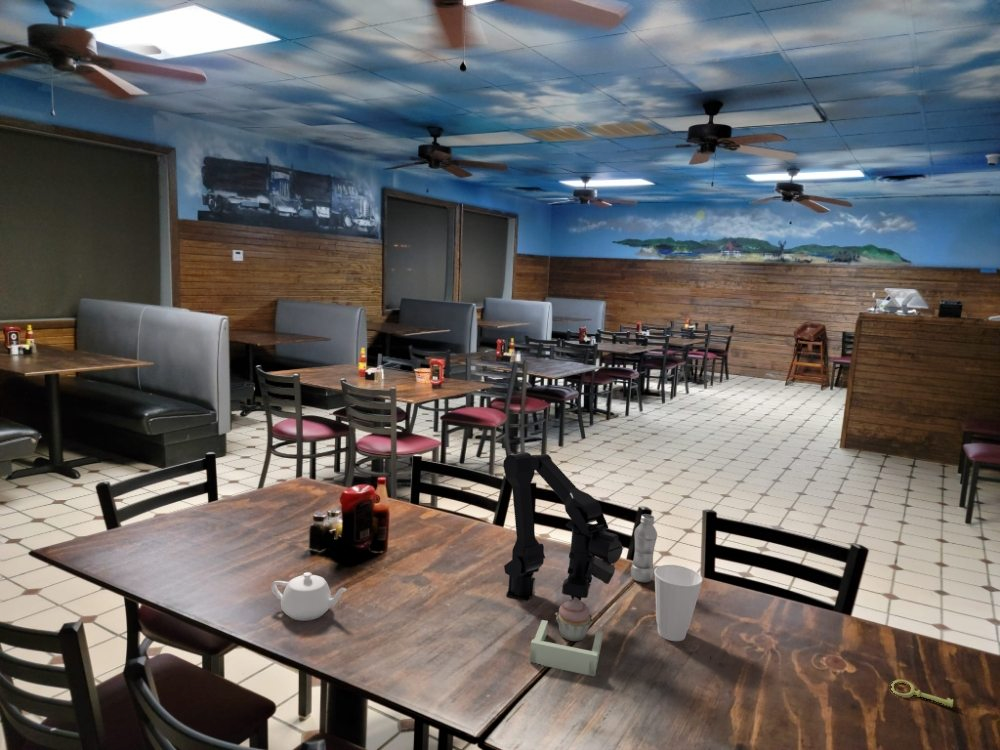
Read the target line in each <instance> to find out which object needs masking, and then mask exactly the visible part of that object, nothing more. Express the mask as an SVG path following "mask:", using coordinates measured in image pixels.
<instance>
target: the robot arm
mask: <svg viewBox="0 0 1000 750" xmlns="http://www.w3.org/2000/svg"><path fill="white" fill-rule="evenodd" d="M503 470H504V474H505V475H504V476H505V479H506V480H507V481H508V483H509V484H510V486H511V488H512V500H513V511H514V521H515V523H514V524H515V533H516V534H515V535H516V541H515V543H514V546H513V547H512V552H511V554H512V555H511V557H512V558H511V560H509V561H507V563H505V564H504V565H503V569H504V574H506V575H508V576H509V577H508V588H507V592H506V597H509V598H515V599H519V600H526V601H530V599H531V597H532V596H533V595H534V593H535V587H536V577H534V575H535V574H534V573H538V572H539V571H540V568H541V567H542V566H543V565H544V559H546V556H545V553H544V552H545V551H544V550H545V549H544V548H545V547H544V544H543V543H540V542H539V541H538V540H537V538H536V536H535V533H536V532H535V524H534V513H533V503H532V502H533V501H532V491H531V484H532V481H533V480H534V477H535V472H536V473H537V474H538V475H539V476H540V478H542V479H543V480H544V482H545V483H546V484H548V486H549V487H550V488H551V490H553V492H554V493H555V494H556V495H557V496H558V497H559V498H560V500H561V501H562V502H563V505H564V510H565V512H566V514H567V515H568V518H569V519H570V521H568V522H567V523H565V527H566V528H568V529H571V538H570V539H571V540H570V541H571V542H570V550H569V553H568V559H569V562H568V563H569V564H568V568H567V574H568V576H567V577H566V578H564V581H563V583H562V588H561V594H562V595H566V596H570V597H571V600H573V599H574V597H576V598H578V599H579V600H580V601H582V599H586V598H588V596H589V592H590V589H591V585H592V584H591V583H592V581H593V577H594V578H596V579H598V580H600V581H601V582H603V583H604V584H605V585H609V584H610V583H611V581H612V578H613V577H614V574H615V570H616V567H615V563H616V562H618V561H619V560H620V558H621V556H622V555H623V550H624V549H623V548H624V547H623V544H622V542H621V541H620V540H619V535H618V534H616V533H612V532H609V531H607V530H608V529H609V525H608V523H607V520H606V518H605V516H604V513H603V511H602V506H601V503H600V502H599V501H598V500H597V499H596V498H595V497H593V496H592V495H591V494H589V493H587V492H585V491H583V490H581V489H579V488H578V487H576V485H575V484H574V483H573V482H572V481H571V480H570V479H569V478H568V476H567V475H566V474H565V473H564V472H563V471H562V470H561V469H560V468H559V467H558V465H556V463H555V462H554V461H553V460H552V457H551V455H549V454H547V453H542V454H531V453H530V452H528V451H526V452H525V451H524V452H519V453H513V454H509V455H507V456H506V457H505V459H504V460H503ZM593 522H596V523H594V524H591V523H593ZM588 524H590V525H588ZM592 576H593V577H592Z"/></svg>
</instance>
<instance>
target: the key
mask: <svg viewBox="0 0 1000 750" xmlns="http://www.w3.org/2000/svg"><path fill="white" fill-rule="evenodd" d="M892 682H893V683H892ZM892 682H891V683H892V684H891V683H890V684H891V686H892V688H891V690H892V691H893V693H895V694H897V695H899V696H902V697H911V696H913V695H914V694H915V695H917V696H918V697H920V696H921V697H924V698H927V699H931V700H934V701H936V702H939V703H942V704H941V705H943V704H944V705H943V706H946V705H947V707H949V706H950V708H952V707H953V708H954V699H953V698H952V699H951V698H950V697H947V698H946V699H945V698H941V697H938V696H935V695H932V694H928V693H925V692H923V691H921V690H920V689H917V690H915V685H913V683H912V682H910V681H908V680H905V679H896V680H894V681H892ZM897 682H905V683H907V684H909V685H910V687H911V689H910V691H909V692H907V693H901V692H898V691H896V690H895V688H894V684H895V683H897ZM893 693H892V694H893ZM917 696H916V697H917ZM913 697H914V696H913ZM936 702H935V703H936ZM939 703H938V704H939Z"/></svg>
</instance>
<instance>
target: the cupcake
mask: <svg viewBox="0 0 1000 750" xmlns="http://www.w3.org/2000/svg"><path fill="white" fill-rule="evenodd" d="M554 614H555V616H556V622H557V623H558V629H559V634H560V636H561V637H562V638H564V639H565V640H567V641H570V642H580V641H583V640H584V639H585V638H586V636H587V635H588V634H587V633H588V632H589V628H590V627H591V625H592V624H593V622H594V620H593V615H592V614H590V609H589V607H588V606H587V604H586V603H585V602H584V601H582V600H581V601H580V600H579V599H578V598H576V597H574V599H573V600H572V599H569V600H567V601H565V602H563V604H561V606H559V609H558V612H555V613H554Z"/></svg>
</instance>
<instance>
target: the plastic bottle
mask: <svg viewBox="0 0 1000 750" xmlns="http://www.w3.org/2000/svg"><path fill="white" fill-rule="evenodd" d="M654 524H655V516H654V515H652V514H647V513H644V514H643V513H642V514H641V516H640V523H639V525H638V526H637V527H636V528H635V529H634V554H633V560H632V564H631V568H630V576H631V578H632V579H633V580H634V581H636V582H638V583H647V584H648V583H650V582H651V581H652V580H653V578H654V576H655V574H654V570H655V569H654V552H655V546H656V543H657V539H658V533H657V532H658V531H657V530H656V527H655V526H654Z"/></svg>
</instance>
